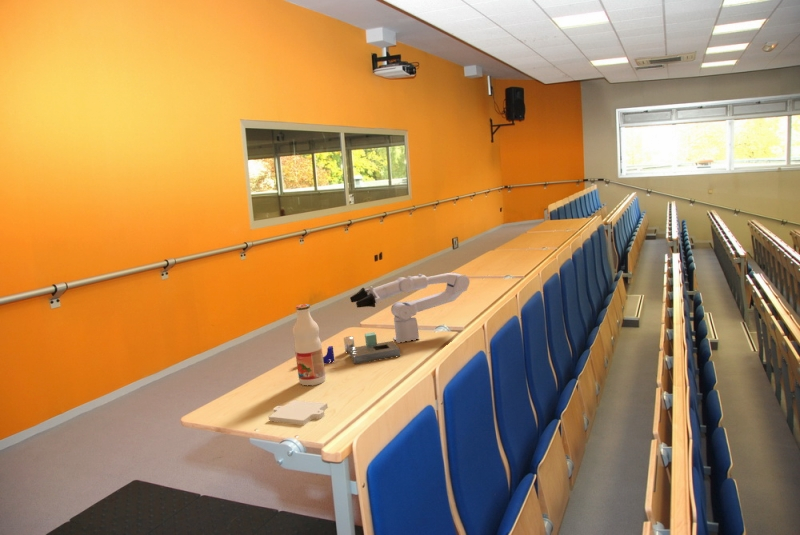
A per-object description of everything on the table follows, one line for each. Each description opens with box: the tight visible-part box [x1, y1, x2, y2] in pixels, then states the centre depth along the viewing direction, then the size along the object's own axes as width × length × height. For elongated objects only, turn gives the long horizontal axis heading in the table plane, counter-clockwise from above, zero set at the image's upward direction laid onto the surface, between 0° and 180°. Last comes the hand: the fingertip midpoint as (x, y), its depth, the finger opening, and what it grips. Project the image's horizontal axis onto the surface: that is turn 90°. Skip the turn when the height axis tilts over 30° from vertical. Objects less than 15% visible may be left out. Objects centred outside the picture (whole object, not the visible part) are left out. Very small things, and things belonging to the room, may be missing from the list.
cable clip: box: [323, 345, 335, 364], centre depth 237 cm, size 12×4×6 cm, turn 84°
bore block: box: [348, 340, 401, 365], centre depth 239 cm, size 18×12×3 cm, turn 103°
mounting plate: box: [268, 399, 329, 426], centre depth 188 cm, size 18×13×2 cm
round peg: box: [343, 335, 356, 354], centre depth 247 cm, size 4×4×6 cm
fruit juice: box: [292, 303, 326, 387], centre depth 215 cm, size 9×9×28 cm
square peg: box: [364, 331, 378, 346], centre depth 249 cm, size 4×4×6 cm
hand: (353, 302), depth 247 cm, fingers open, 7 cm apart
